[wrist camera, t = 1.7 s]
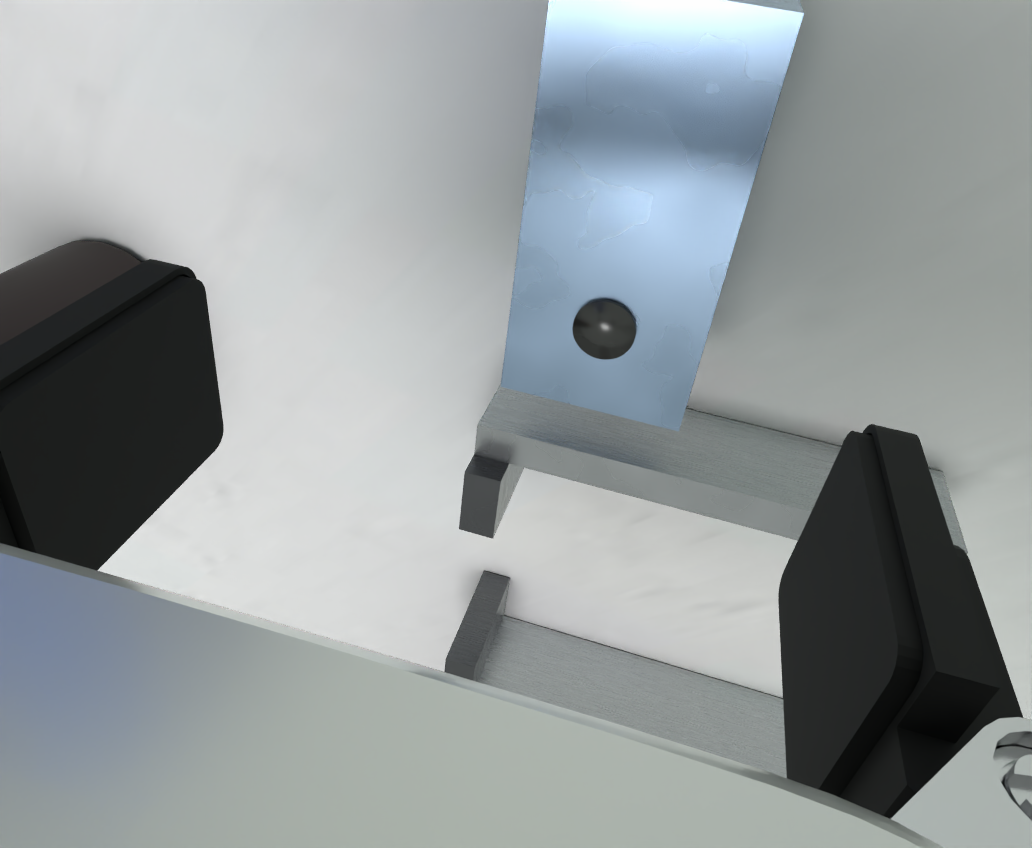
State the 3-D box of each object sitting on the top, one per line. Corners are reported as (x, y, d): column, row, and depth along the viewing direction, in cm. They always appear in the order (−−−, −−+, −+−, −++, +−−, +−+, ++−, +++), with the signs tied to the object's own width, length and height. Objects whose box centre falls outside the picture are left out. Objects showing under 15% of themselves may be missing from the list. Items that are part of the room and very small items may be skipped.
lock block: (795, -12, 19) (804, 14, 14) (696, 332, 25) (677, 435, 20) (604, -42, 20) (550, -28, 15) (550, 299, 26) (498, 390, 21)
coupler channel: (942, 471, 25) (975, 576, 21) (798, 722, 34) (802, 831, 30) (511, 365, 28) (467, 442, 24) (476, 625, 36) (440, 714, 32)
